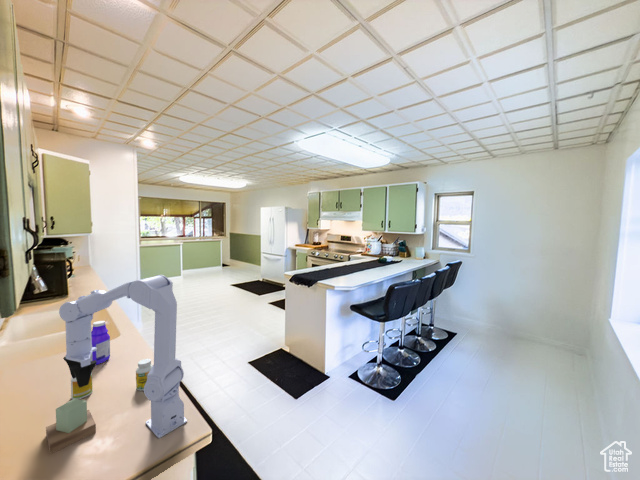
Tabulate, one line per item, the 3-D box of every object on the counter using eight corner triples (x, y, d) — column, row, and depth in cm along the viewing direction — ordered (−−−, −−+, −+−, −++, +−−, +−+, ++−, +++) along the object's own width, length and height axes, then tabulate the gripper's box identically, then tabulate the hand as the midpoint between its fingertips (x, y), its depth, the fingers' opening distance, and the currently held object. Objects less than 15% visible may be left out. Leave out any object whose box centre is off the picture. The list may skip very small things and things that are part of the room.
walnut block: (95, 434, 73) (95, 424, 72) (50, 455, 66) (49, 444, 65) (89, 418, 78) (88, 409, 78) (46, 437, 71) (45, 427, 71)
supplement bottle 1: (95, 392, 90) (95, 365, 89) (76, 401, 85) (75, 373, 85) (87, 388, 92) (87, 362, 92) (68, 397, 87) (67, 369, 87)
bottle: (102, 357, 114) (101, 318, 113) (113, 358, 113) (112, 319, 113) (85, 365, 107) (84, 324, 106) (97, 366, 106) (96, 325, 105)
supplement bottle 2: (153, 380, 97) (153, 356, 97) (154, 388, 93) (153, 362, 92) (136, 385, 94) (136, 360, 94) (135, 393, 90) (135, 366, 89)
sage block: (87, 420, 74) (86, 400, 73) (69, 433, 69) (68, 411, 69) (75, 418, 74) (74, 398, 74) (56, 430, 70) (55, 409, 70)
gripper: (103, 340, 78) (104, 383, 78) (89, 328, 86) (90, 367, 87) (71, 348, 72) (72, 395, 72) (60, 335, 80) (61, 377, 81)
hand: (80, 381), depth 79 cm, fingers open, 7 cm apart
